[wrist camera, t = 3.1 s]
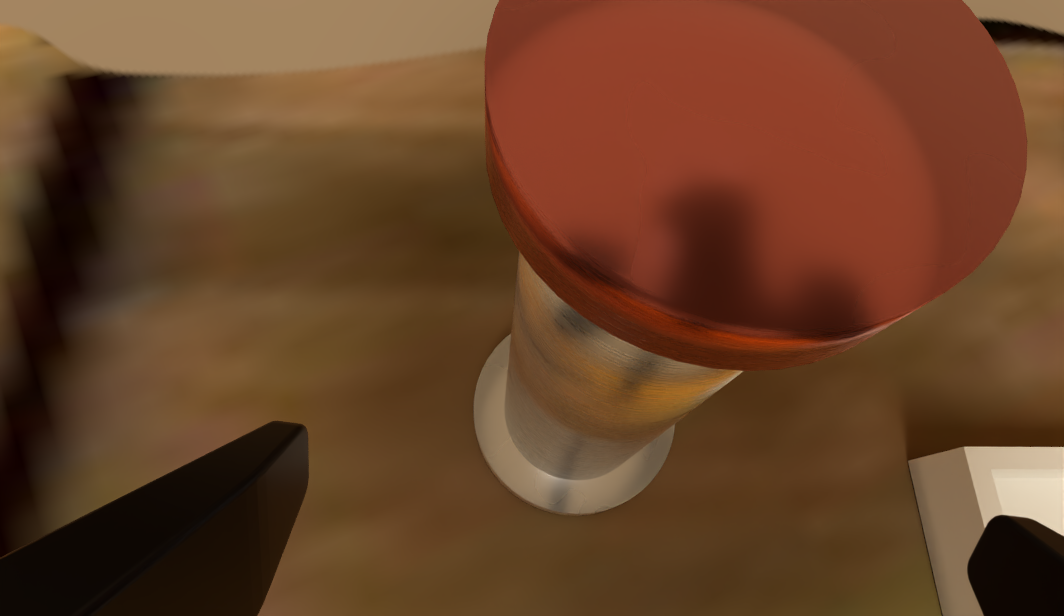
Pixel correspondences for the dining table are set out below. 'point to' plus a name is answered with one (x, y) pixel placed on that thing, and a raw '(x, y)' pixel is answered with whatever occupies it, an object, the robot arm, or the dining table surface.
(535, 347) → the stop pin
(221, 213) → the dining table surface
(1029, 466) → the tray
